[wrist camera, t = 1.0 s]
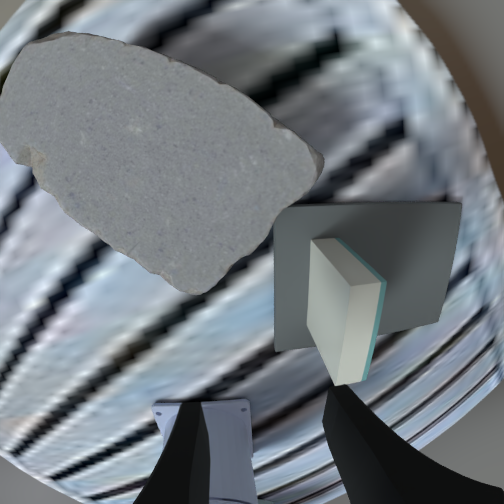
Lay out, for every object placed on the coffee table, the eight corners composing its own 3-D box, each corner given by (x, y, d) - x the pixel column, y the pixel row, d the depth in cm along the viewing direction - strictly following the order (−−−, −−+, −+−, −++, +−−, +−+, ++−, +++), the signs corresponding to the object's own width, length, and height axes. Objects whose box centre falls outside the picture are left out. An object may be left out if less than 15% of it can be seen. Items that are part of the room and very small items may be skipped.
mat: (434, 318, 23) (438, 321, 22) (274, 346, 21) (275, 351, 21) (457, 201, 19) (462, 203, 19) (273, 205, 18) (275, 207, 17)
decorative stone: (272, 251, 19) (317, 91, 16) (297, 315, 13) (372, 77, 9) (47, 207, 17) (72, 50, 13) (-16, 249, 10) (7, 26, 7)
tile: (331, 321, 21) (366, 380, 15) (306, 324, 20) (335, 386, 15) (339, 237, 18) (386, 281, 13) (310, 239, 18) (350, 286, 13)
